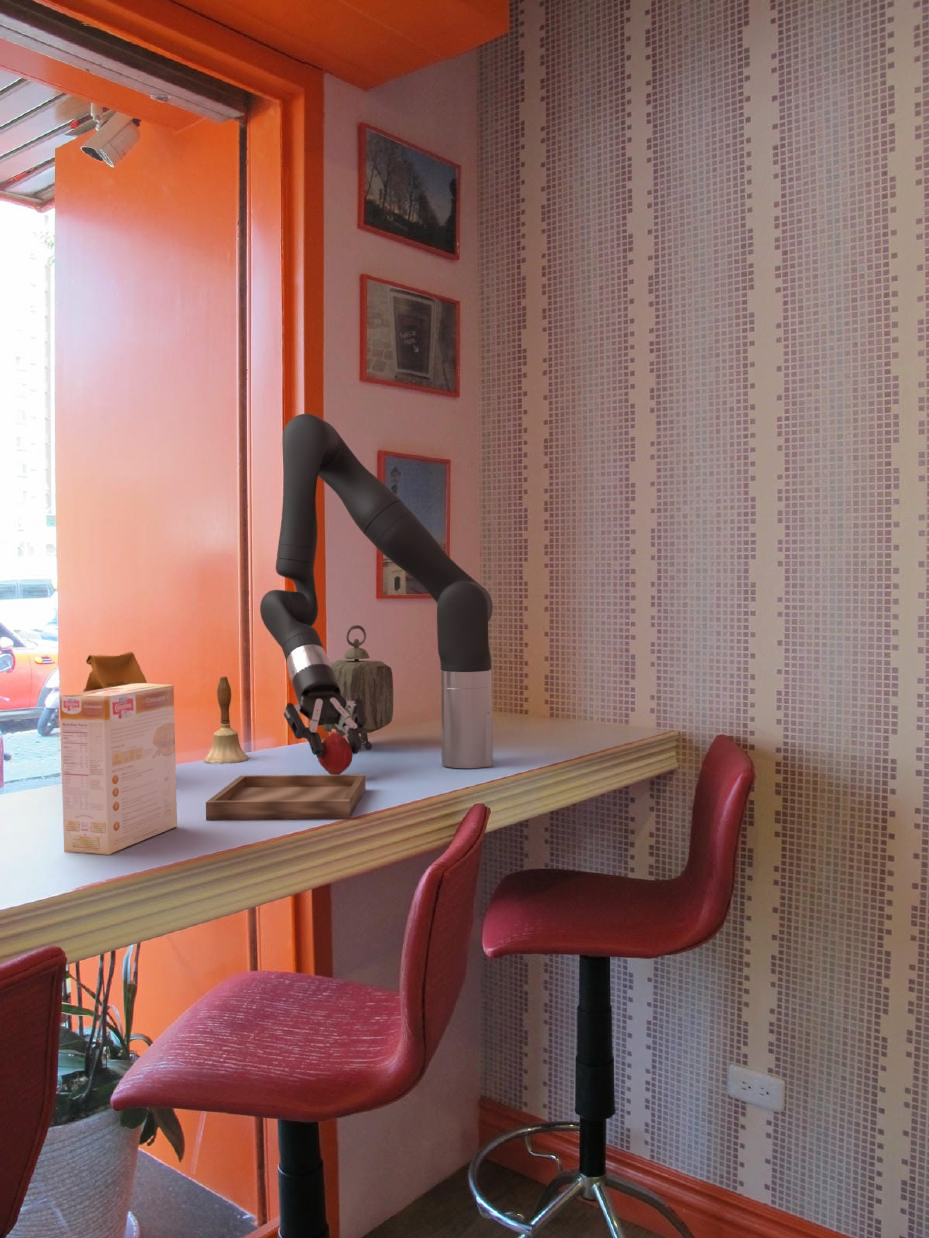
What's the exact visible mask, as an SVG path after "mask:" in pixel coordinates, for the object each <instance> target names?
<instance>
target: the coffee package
mask: <svg viewBox="0 0 929 1238" xmlns="http://www.w3.org/2000/svg"><path fill="white" fill-rule="evenodd" d="M85 663H86V664H87V665H90V667H91V669H92V670H91V671H90V672H89V674H88V678H87V679H86V680H87V681H86V683H85V687H84V688H83V691H82V692H85V691H92V690H98V689H104V688H111V687H117V686H123V685H129V684H136V683H147V684H148V682H147V680H146V677H145V674H144V673H143V671H142V669H141V665H140V664H139V662H138V660H137V658H136V656H135V654H134V652H133V651H130V650H129V651H126V652H124V653H121V654H119V655H106V654H104V655H102V654H96V655H94V654H88V656H87V658H86V660H85Z"/></svg>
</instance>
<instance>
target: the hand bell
mask: <svg viewBox="0 0 929 1238" xmlns="http://www.w3.org/2000/svg"><path fill="white" fill-rule="evenodd" d="M216 691H217V695H216V697H217V701H218V703H217V704H218V705H219V708H220V728H219V729H218V730H217V731H214V733H213V737H212V745H211V747H210V751H209V752H208V754H207V755H206V756H205V757H204V759H203V762H204V763H207V764H211V763H230V764H237V763H242V762H245V761H248V760H249V756H248V755H247V754H246V753H245V752H244V750H243V749H242V747H241V743H240V739H239V733H238V731H237V730H235V729H233V728H232V727H231V721H230V706H231V702H232V689H231V685H230V683H229V680H228V676H220V677H219V681H218V685H217V690H216Z"/></svg>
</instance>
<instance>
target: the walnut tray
mask: <svg viewBox="0 0 929 1238" xmlns="http://www.w3.org/2000/svg"><path fill="white" fill-rule="evenodd" d="M365 791H366V774H360V773H359V774H356V773H355V774H339V775H331V774H282V775H281V774H274V775H273V774H272V775H271V774H270V775H266V774H265V775H255V774H254V775H239V776H238V777H236V778H235V779H234V780H233V781H231V782H230V783H229V784H227V785H226V786H225V787H224V788H223V789H221V790H220V791H218V793H217V792H216V793H215V795H213V796H211V797H210V798H209V799H208V800H206V801H205V821H246V820H247V821H251V820H252V821H254V820H256V821H258V820H259V821H260V820H267V821H268V820H269V821H270V820H273V821H274V820H343V819H344V820H350V819H351V816H352V814H353V813H354V811H355V810H356V807H357V806H358V804H359V802H360V800H361V799H362V797H363V795H364V793H365Z"/></svg>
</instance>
